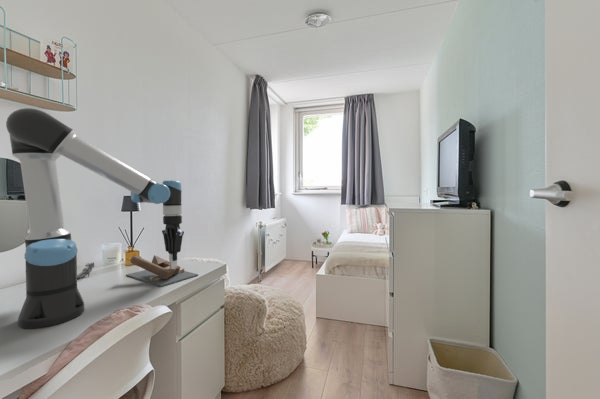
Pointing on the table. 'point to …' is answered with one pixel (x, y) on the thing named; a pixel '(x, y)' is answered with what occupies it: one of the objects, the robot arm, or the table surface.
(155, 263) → the brown wooden bracket
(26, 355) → the table surface
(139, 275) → the mat
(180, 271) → the kerb
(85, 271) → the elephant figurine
